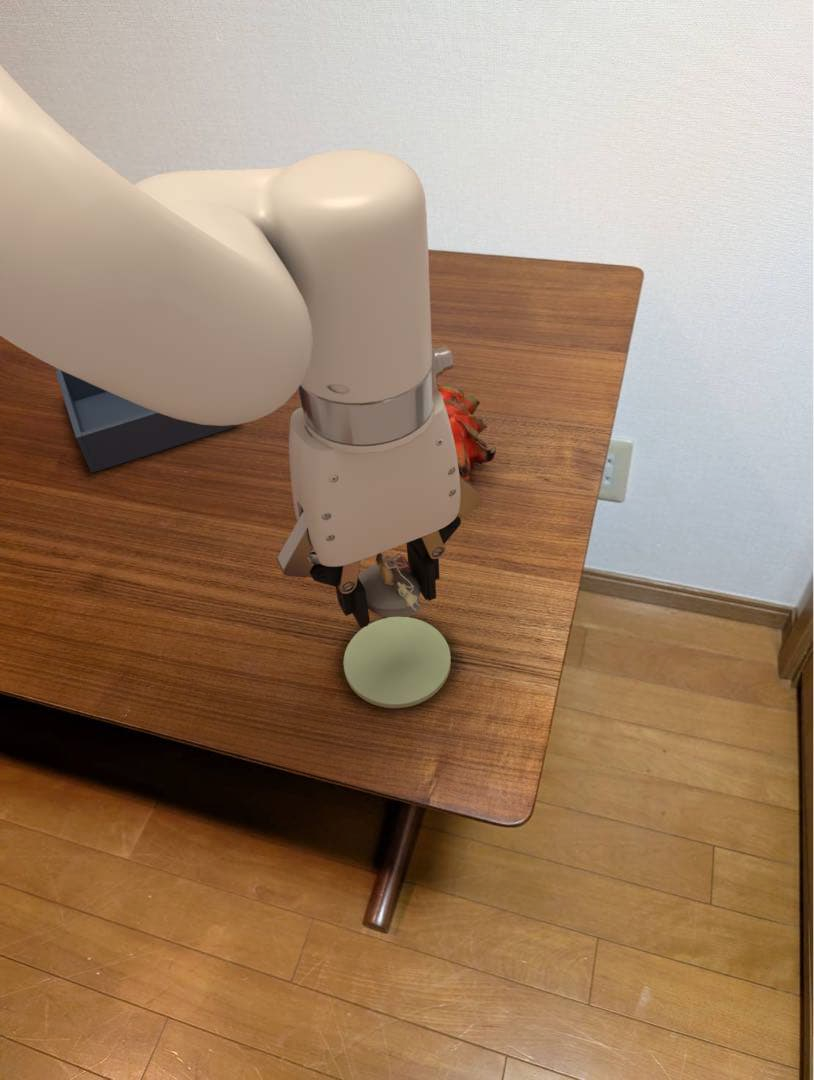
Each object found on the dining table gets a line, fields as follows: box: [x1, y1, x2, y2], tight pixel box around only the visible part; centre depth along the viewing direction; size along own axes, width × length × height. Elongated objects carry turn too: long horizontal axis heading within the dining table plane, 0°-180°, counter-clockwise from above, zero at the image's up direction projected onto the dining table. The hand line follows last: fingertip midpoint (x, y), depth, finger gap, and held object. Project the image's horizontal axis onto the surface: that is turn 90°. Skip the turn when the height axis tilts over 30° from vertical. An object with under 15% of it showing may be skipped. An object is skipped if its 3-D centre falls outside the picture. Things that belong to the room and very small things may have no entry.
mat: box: [343, 616, 452, 709], centre depth 65 cm, size 8×8×1 cm
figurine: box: [358, 550, 422, 618], centre depth 58 cm, size 5×4×6 cm
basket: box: [54, 368, 236, 474], centre depth 88 cm, size 15×13×5 cm
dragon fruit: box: [437, 383, 497, 482], centre depth 79 cm, size 8×8×12 cm
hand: (390, 598), depth 60 cm, fingers closed on figurine, 4 cm apart
